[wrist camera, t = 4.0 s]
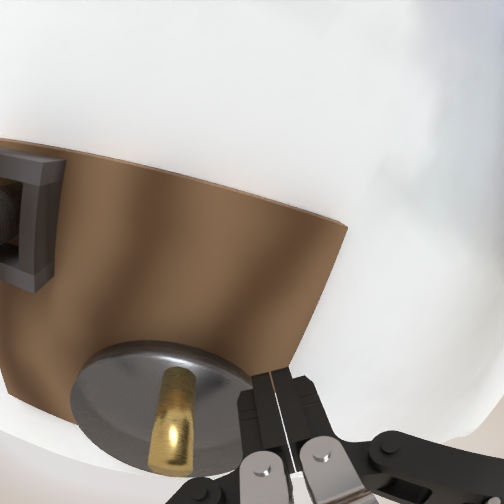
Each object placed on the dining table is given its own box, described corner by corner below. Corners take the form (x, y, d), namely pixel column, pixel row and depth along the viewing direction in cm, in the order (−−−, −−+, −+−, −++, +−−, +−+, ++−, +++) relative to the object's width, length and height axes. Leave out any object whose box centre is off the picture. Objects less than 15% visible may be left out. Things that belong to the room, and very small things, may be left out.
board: (339, 221, 15) (368, 240, 12) (236, 448, 21) (239, 480, 18) (0, 137, 11) (-37, 140, 8) (13, 385, 17) (-2, 410, 14)
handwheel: (297, 364, 15) (333, 463, 9) (237, 469, 18) (245, 538, 12) (73, 312, 13) (12, 400, 6) (85, 438, 16) (65, 505, 10)
